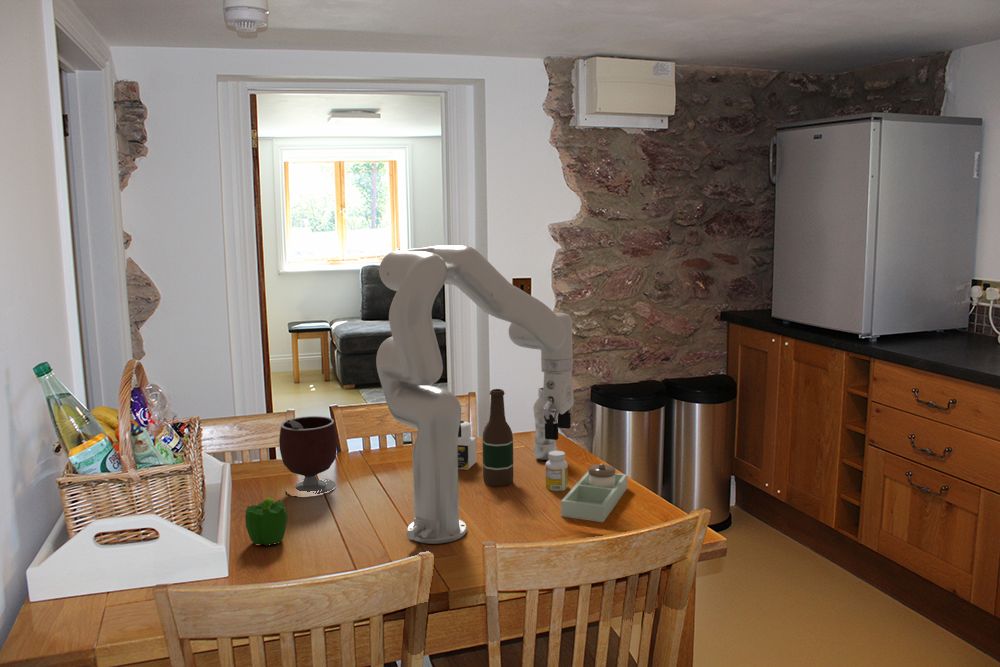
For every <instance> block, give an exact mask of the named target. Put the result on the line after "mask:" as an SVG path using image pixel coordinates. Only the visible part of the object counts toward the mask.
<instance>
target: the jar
mask: <svg viewBox="0 0 1000 667" xmlns="http://www.w3.org/2000/svg"><path fill="white" fill-rule="evenodd" d="M587 472H588V473H589V486H596V487H604V488H612V489H613V488H614V486H615V473H616V468H615V466H612V465H610V464H609V465H608V464H604V463H599V464H592V465H590V466H589V467H588V470H587Z"/></svg>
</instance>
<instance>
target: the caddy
mask: <svg viewBox="0 0 1000 667" xmlns="http://www.w3.org/2000/svg"><path fill="white" fill-rule="evenodd" d="M627 489H628V474H625V473H618V472H617V473H616V472H615V486H614V488H613V489H612V488H604V487H596V486H589V473H588V471H587V472H586V473H585V474H583V476H582V477H581V478H580V480H579V481H578V482H577V483H576V484H575V485H574V486H573V487H572V488H571V489H570V490H569V491H568V493H566V495H564V497H563V498H562V500H560V516H561V517H564V518H571V519H576V520H577V519H579V520H584V521H590V522H591V521H593V522H599V523H604V522H605V521H606V519H607V518H608V517H609V515H610V513H612V511H613V509H614V508H615V507H616V505H617V504H618V502H619V501H620V499H622V496H623V495H624V494H625V492H626V491H627Z"/></svg>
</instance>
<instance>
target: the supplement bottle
mask: <svg viewBox="0 0 1000 667" xmlns="http://www.w3.org/2000/svg"><path fill="white" fill-rule="evenodd" d="M565 458H566V453H565V451H562V450H557V451H551V452H549V459H550V460H546V462H545V489H546V490H548V491H550V492H551V491H552V492H562V491H566V490H567V489H568V488H569V482H568V480H569V478H568V477H569V476H568V475H569V473H568V472H569V471H568V470H569V469H568V468H569V464H568V462H567V461H566V460H565Z"/></svg>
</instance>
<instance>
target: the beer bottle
mask: <svg viewBox="0 0 1000 667" xmlns="http://www.w3.org/2000/svg"><path fill="white" fill-rule="evenodd" d="M489 395H490V408H489V418H488V422H487V424H486V425H485V426H484V430H483V432H482V476H483V477H482V478H483V482H484V483H485V484H486V486H490V487H497V488H498V487H507V486H509V485H510V484H512V483H513V482H514V438H513V437H514V435H513V431H512V429H511V427H510V424H508V422H507V421H506V412H505V411H506V410H505V401H504V400H505V399H504V395H506V394H505V391H504V389H501V388H494V389H491V390H490V392H489Z"/></svg>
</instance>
